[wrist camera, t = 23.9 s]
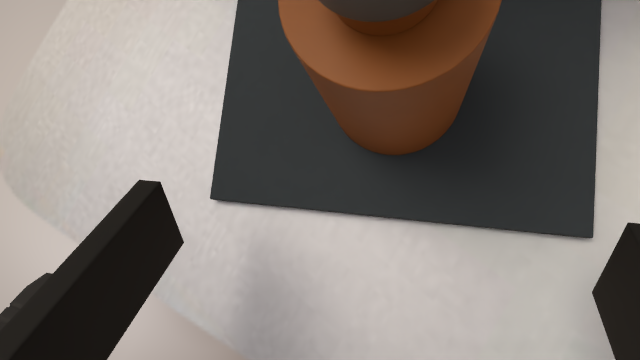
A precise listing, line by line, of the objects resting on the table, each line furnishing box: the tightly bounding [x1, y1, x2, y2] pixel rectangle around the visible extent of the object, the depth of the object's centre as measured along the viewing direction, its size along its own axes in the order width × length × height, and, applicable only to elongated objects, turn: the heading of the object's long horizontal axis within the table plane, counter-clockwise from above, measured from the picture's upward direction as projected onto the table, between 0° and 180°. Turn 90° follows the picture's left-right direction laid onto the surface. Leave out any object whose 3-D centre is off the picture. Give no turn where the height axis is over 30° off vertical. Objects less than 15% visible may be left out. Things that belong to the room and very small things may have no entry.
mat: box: [210, 0, 601, 238], centre depth 18 cm, size 16×11×1 cm
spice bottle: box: [278, 0, 502, 155], centre depth 13 cm, size 6×6×11 cm
